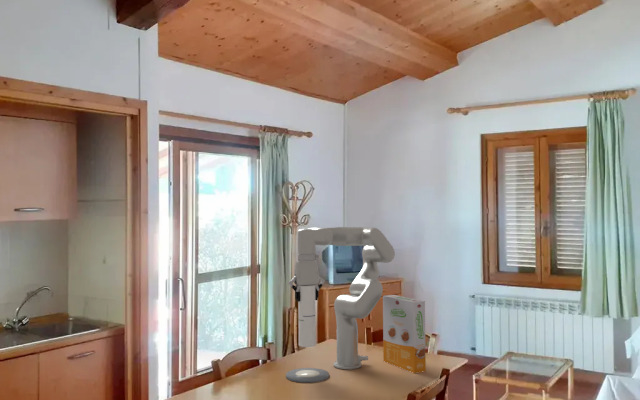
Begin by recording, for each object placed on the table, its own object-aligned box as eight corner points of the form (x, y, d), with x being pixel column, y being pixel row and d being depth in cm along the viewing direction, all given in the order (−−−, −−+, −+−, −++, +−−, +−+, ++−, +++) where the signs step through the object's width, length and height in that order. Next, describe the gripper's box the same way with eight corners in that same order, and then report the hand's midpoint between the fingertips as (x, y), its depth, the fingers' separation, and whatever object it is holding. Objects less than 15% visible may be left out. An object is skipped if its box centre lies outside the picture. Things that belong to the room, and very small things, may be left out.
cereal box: (425, 371, 238) (424, 301, 238) (414, 373, 235) (413, 302, 235) (394, 359, 257) (393, 294, 258) (383, 361, 254) (382, 295, 255)
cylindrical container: (313, 347, 227) (313, 286, 228) (296, 346, 229) (296, 286, 230) (317, 343, 234) (316, 284, 235) (300, 342, 236) (300, 284, 237)
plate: (319, 368, 243) (319, 365, 243) (335, 379, 226) (335, 376, 226) (280, 373, 236) (280, 370, 236) (294, 384, 220) (294, 381, 220)
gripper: (322, 256, 239) (322, 297, 239) (284, 258, 233) (284, 300, 232) (329, 258, 232) (329, 300, 232) (289, 259, 226) (290, 303, 225)
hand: (306, 300), depth 232 cm, fingers closed on cylindrical container, 7 cm apart
